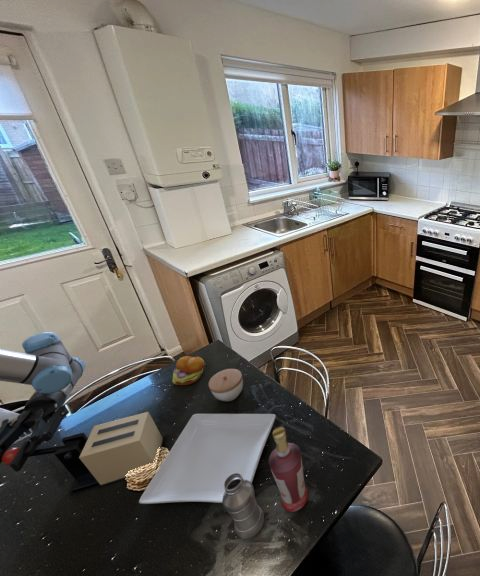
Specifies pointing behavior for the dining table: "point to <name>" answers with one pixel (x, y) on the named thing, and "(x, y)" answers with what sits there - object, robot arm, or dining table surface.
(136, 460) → the toaster
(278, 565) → the dining table surface
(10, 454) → the lever
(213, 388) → the trinket box
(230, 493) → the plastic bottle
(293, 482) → the liquor
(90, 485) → the lever bracket
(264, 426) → the square plate
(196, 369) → the cheeseburger
